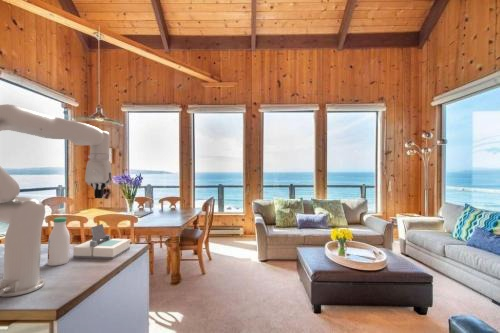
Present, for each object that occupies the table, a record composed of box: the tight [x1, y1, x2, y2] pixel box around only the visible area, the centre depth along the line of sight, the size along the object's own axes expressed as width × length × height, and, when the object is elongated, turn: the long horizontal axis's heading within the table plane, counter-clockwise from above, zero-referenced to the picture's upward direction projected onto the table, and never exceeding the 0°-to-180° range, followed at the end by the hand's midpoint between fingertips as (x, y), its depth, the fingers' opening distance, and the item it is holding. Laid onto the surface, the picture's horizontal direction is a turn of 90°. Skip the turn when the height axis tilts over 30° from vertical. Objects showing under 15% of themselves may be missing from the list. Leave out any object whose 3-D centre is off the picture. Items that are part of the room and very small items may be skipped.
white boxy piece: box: [72, 234, 131, 260], centre depth 127 cm, size 16×19×8 cm
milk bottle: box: [47, 216, 71, 267], centre depth 113 cm, size 8×8×20 cm
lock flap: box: [90, 223, 108, 244], centre depth 128 cm, size 9×9×2 cm
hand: (98, 197), depth 116 cm, fingers closed
